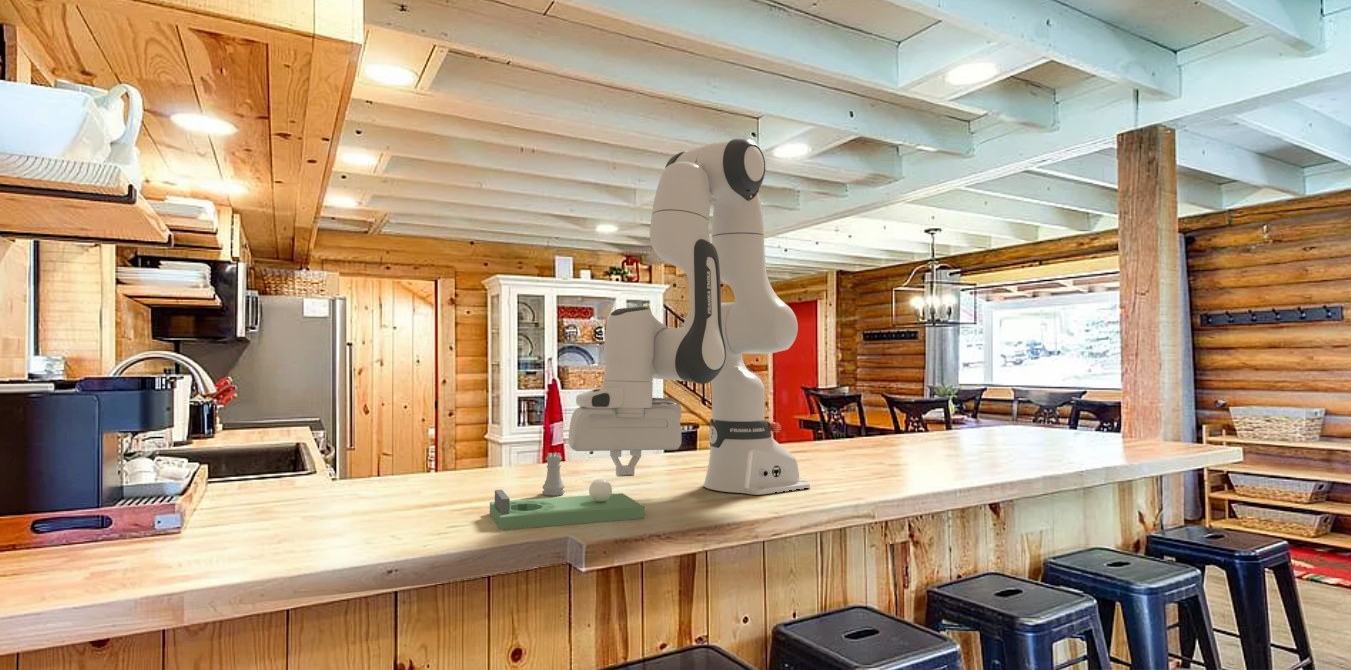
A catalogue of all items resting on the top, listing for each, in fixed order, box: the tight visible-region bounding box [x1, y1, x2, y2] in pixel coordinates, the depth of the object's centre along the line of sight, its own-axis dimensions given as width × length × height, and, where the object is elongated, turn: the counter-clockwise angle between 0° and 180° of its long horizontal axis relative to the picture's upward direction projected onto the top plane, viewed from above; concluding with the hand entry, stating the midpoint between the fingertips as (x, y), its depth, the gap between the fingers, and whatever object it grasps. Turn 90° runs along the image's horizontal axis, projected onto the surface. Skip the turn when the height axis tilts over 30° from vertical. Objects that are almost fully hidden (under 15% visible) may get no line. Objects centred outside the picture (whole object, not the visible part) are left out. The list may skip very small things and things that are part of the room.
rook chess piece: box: [541, 452, 566, 497], centre depth 140 cm, size 4×4×8 cm
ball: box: [588, 478, 613, 502], centre depth 124 cm, size 4×4×4 cm
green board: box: [489, 489, 645, 531], centre depth 122 cm, size 24×12×4 cm, turn 112°
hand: (624, 476), depth 126 cm, fingers closed
